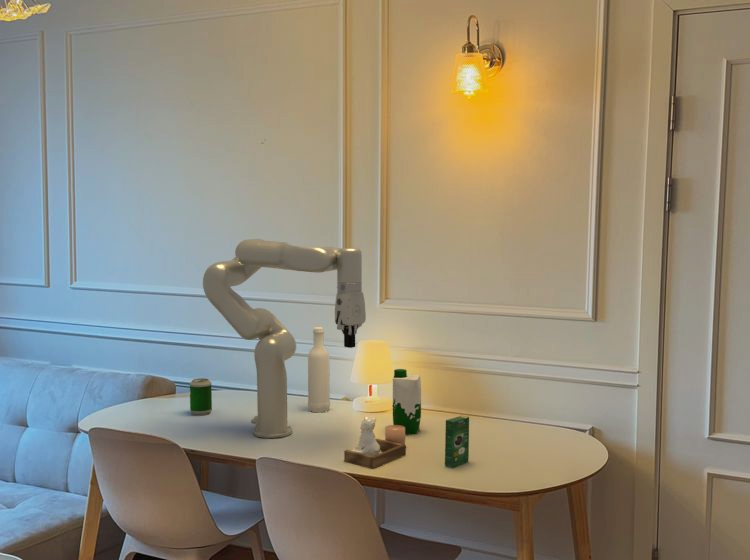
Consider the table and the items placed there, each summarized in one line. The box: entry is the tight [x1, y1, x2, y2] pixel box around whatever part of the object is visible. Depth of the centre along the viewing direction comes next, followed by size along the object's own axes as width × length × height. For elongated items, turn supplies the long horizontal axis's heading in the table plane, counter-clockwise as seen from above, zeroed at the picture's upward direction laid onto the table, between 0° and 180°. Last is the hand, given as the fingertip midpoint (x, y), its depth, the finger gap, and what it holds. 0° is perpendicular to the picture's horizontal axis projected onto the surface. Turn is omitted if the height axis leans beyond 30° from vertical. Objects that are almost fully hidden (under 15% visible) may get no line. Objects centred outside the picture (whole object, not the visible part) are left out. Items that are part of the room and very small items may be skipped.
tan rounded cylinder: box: [384, 424, 406, 445], centre depth 225 cm, size 6×6×6 cm
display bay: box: [343, 438, 407, 470], centre depth 214 cm, size 11×15×3 cm
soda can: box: [189, 377, 213, 417], centre depth 264 cm, size 8×8×12 cm
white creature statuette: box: [351, 415, 381, 456], centre depth 216 cm, size 10×9×12 cm
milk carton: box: [392, 368, 422, 435], centre depth 241 cm, size 9×9×20 cm
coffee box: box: [444, 415, 470, 469], centre depth 209 cm, size 8×3×13 cm, turn 137°
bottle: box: [307, 326, 331, 413], centre depth 268 cm, size 8×8×30 cm
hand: (349, 346), depth 231 cm, fingers closed
